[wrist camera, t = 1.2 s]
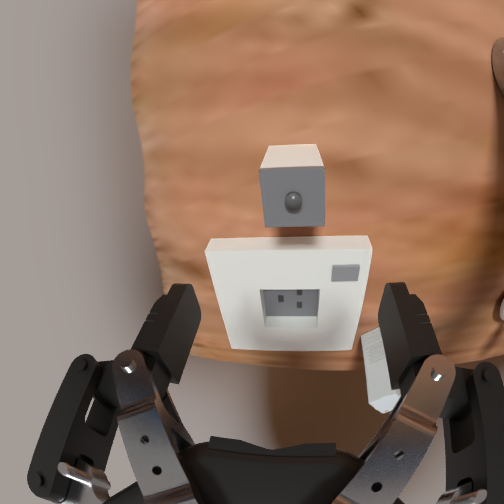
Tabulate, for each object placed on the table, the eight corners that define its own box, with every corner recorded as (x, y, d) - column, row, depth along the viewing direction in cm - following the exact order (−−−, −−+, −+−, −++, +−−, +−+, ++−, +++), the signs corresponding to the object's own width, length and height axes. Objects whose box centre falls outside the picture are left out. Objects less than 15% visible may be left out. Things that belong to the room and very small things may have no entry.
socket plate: (367, 235, 28) (373, 250, 26) (349, 336, 38) (351, 352, 36) (210, 238, 32) (203, 253, 29) (235, 335, 42) (231, 350, 39)
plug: (315, 144, 24) (325, 171, 17) (317, 187, 26) (325, 230, 19) (268, 145, 25) (257, 173, 18) (273, 188, 27) (264, 231, 20)
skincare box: (396, 341, 38) (408, 405, 28) (373, 351, 40) (381, 414, 30) (383, 323, 36) (397, 393, 26) (359, 334, 38) (366, 404, 28)
